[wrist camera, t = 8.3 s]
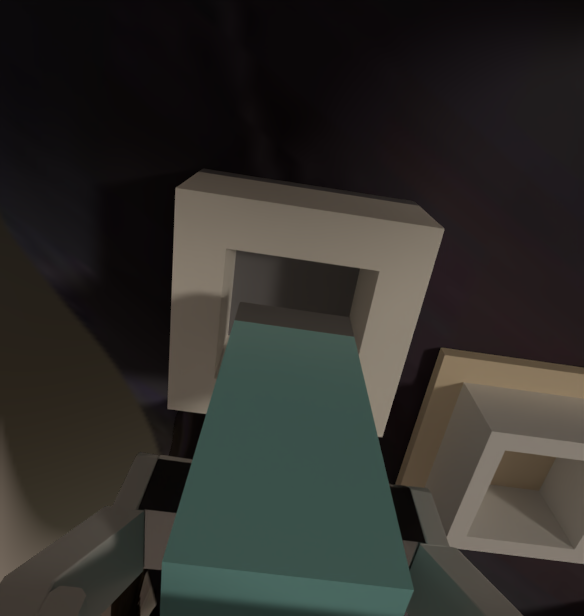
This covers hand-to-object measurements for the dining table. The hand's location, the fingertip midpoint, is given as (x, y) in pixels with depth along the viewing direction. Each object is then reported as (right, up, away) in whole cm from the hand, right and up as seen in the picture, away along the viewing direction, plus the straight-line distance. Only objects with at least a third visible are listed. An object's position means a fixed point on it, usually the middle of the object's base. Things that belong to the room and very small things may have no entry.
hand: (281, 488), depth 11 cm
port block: (0, +6, +12) cm, 13 cm away
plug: (0, +3, +6) cm, 7 cm away
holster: (+13, -3, +16) cm, 21 cm away
